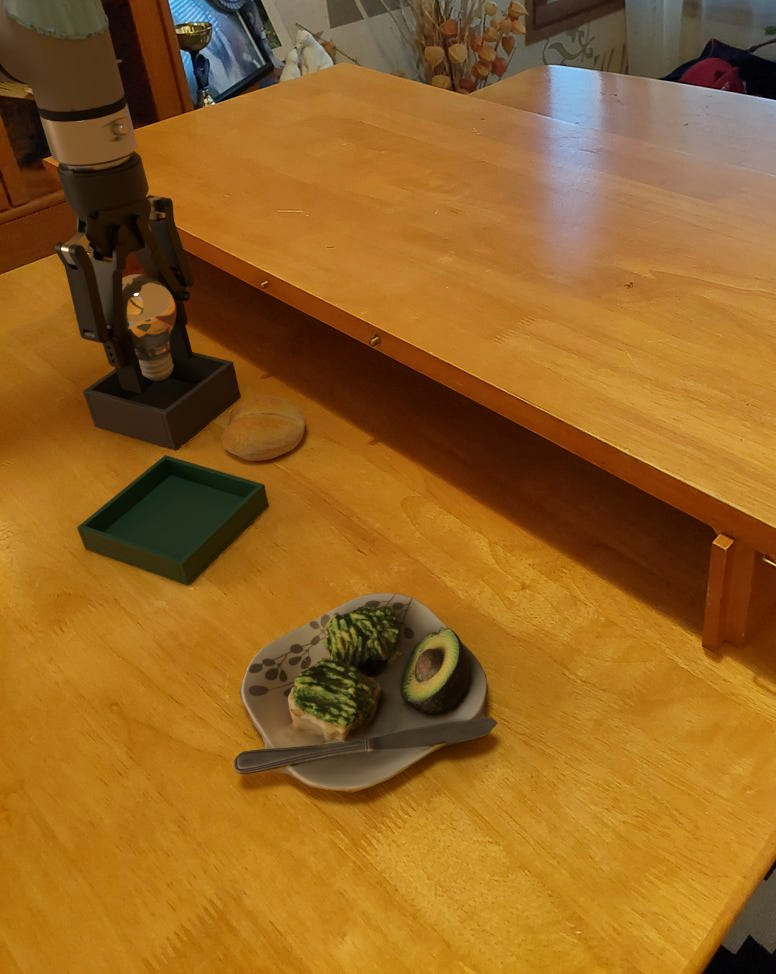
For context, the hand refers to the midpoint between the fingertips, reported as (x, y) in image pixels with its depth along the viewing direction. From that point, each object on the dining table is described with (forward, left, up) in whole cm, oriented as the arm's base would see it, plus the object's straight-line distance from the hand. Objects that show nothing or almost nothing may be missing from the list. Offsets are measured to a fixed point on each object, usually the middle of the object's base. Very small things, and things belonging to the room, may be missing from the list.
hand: (158, 371), depth 99 cm
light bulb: (0, 0, -1) cm, 1 cm away
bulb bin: (0, 0, -5) cm, 5 cm away
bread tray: (+14, -15, -5) cm, 21 cm away
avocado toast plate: (+41, -25, -5) cm, 48 cm away
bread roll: (+13, 0, -5) cm, 14 cm away
